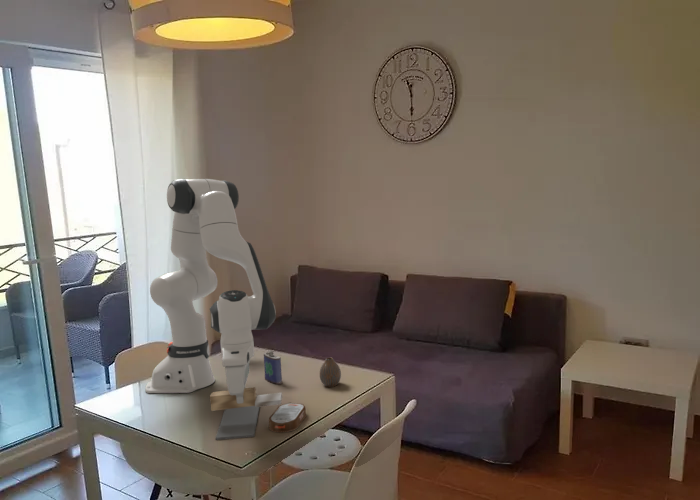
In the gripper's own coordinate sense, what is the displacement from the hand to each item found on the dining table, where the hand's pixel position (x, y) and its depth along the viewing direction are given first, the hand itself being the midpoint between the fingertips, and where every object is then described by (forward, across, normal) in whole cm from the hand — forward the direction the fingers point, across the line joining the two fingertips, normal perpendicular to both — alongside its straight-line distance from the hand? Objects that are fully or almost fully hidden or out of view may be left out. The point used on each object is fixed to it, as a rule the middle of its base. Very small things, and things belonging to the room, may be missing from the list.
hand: (241, 399), depth 163 cm
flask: (+7, -34, +7) cm, 36 cm away
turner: (+2, 0, +1) cm, 2 cm away
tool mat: (+7, -2, -1) cm, 8 cm away
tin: (+6, -1, +8) cm, 10 cm away
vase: (+7, -26, +26) cm, 37 cm away
